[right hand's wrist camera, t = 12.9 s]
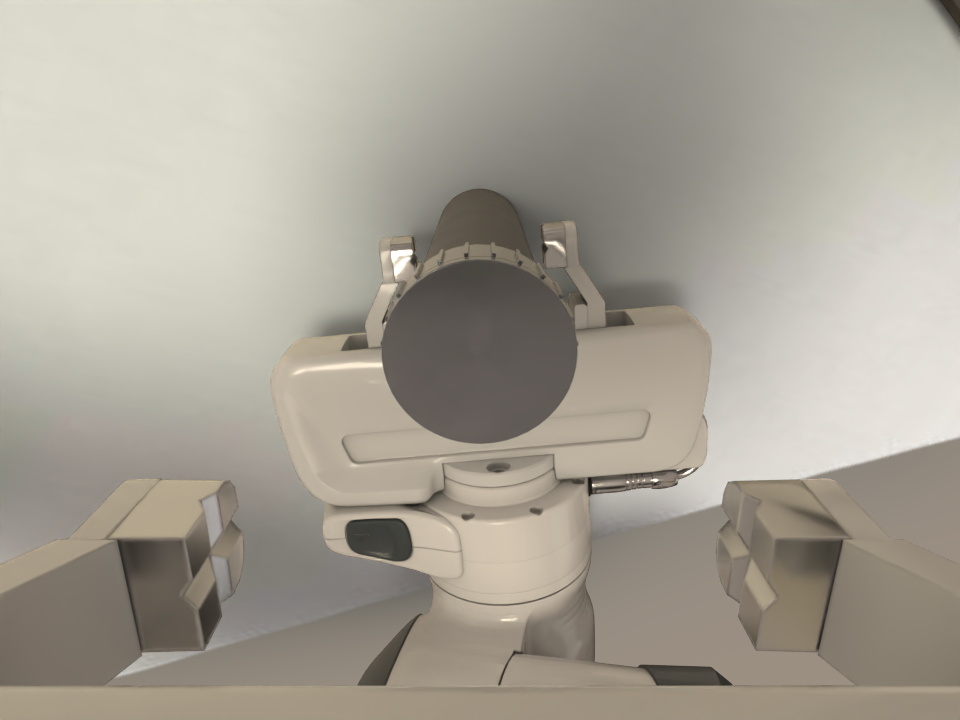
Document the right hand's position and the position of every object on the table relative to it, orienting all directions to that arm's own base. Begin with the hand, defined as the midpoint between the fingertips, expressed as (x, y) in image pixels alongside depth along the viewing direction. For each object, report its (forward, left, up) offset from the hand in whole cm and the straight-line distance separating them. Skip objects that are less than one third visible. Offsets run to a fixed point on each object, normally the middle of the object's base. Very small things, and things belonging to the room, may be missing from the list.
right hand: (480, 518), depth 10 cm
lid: (0, 0, -8) cm, 8 cm away
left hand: (-1, -1, -21) cm, 21 cm away
